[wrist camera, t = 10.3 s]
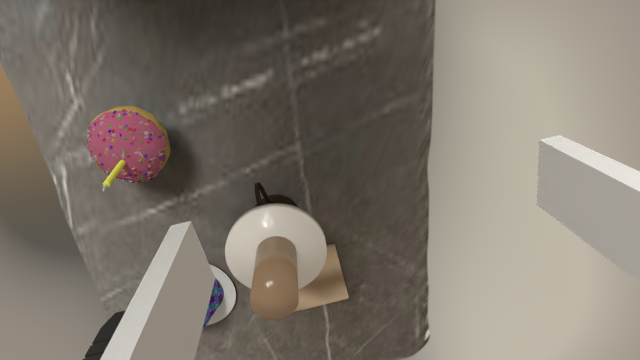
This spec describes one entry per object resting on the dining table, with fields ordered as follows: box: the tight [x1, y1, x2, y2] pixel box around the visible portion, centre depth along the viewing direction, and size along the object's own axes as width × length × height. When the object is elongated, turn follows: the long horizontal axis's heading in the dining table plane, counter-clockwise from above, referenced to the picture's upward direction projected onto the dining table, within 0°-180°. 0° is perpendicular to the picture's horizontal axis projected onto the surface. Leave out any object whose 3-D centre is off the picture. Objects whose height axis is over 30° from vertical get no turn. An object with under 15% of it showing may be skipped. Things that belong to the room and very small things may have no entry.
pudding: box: [203, 264, 236, 327], centre depth 54 cm, size 12×12×5 cm
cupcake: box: [86, 106, 171, 192], centre depth 41 cm, size 9×8×12 cm
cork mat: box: [294, 244, 349, 312], centre depth 56 cm, size 10×10×1 cm
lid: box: [225, 203, 327, 320], centre depth 38 cm, size 11×11×9 cm
